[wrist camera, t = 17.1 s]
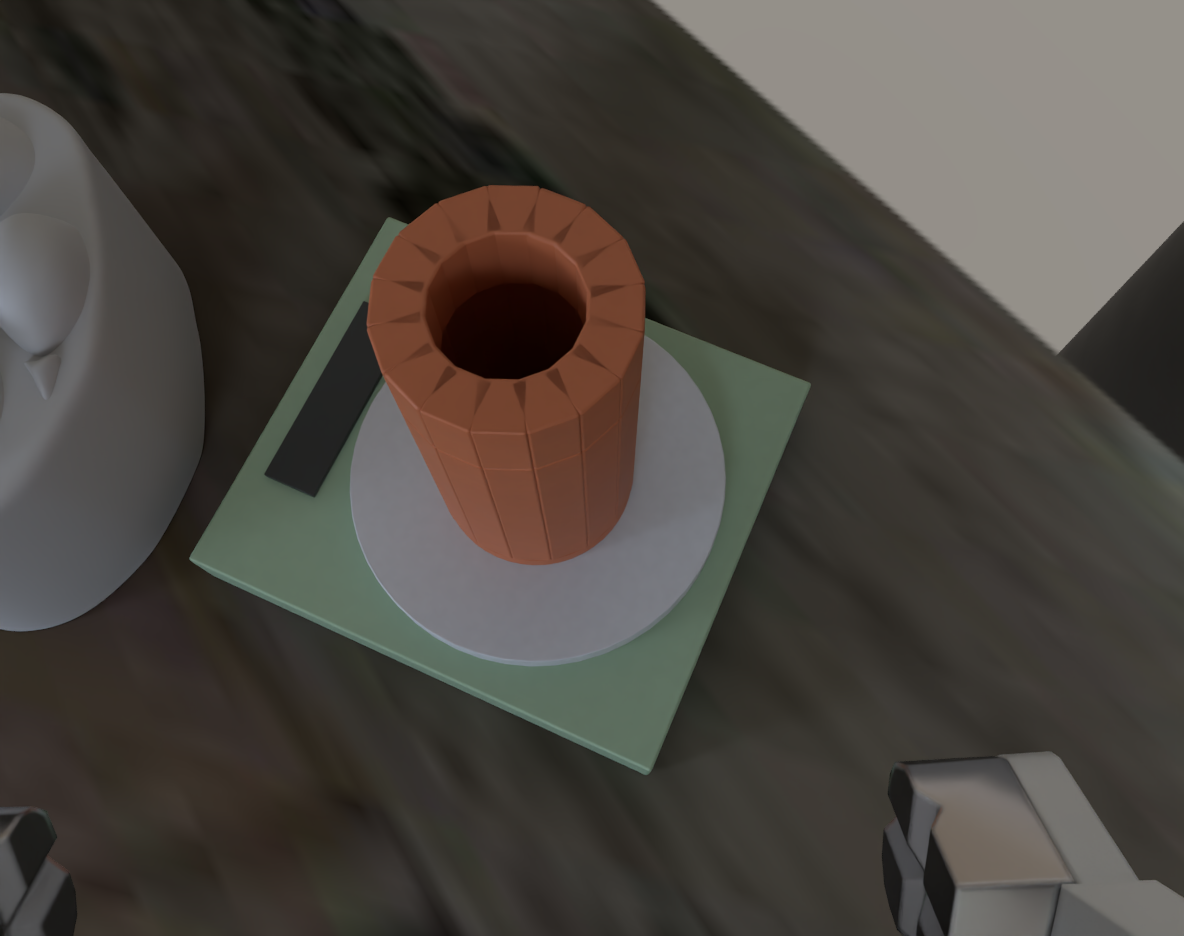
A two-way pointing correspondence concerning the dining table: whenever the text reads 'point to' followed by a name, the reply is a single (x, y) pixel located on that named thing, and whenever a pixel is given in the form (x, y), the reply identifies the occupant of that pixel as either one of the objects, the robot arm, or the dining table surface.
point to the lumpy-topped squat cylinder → (84, 376)
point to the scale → (490, 584)
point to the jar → (516, 365)
